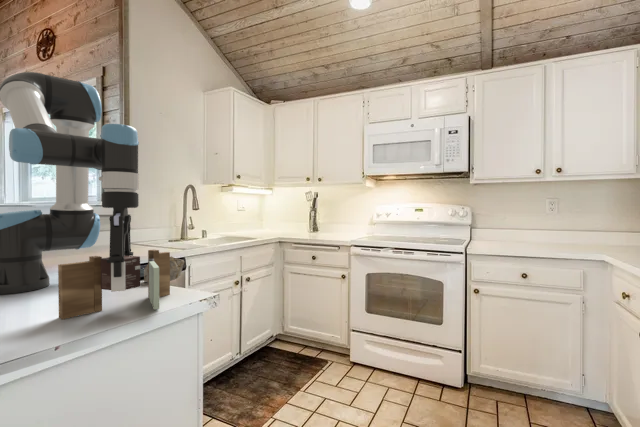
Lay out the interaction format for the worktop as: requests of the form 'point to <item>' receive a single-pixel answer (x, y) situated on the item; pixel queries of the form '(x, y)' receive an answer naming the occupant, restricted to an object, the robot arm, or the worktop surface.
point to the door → (154, 284)
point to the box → (130, 272)
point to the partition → (97, 284)
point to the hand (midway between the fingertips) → (121, 286)
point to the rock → (175, 269)
